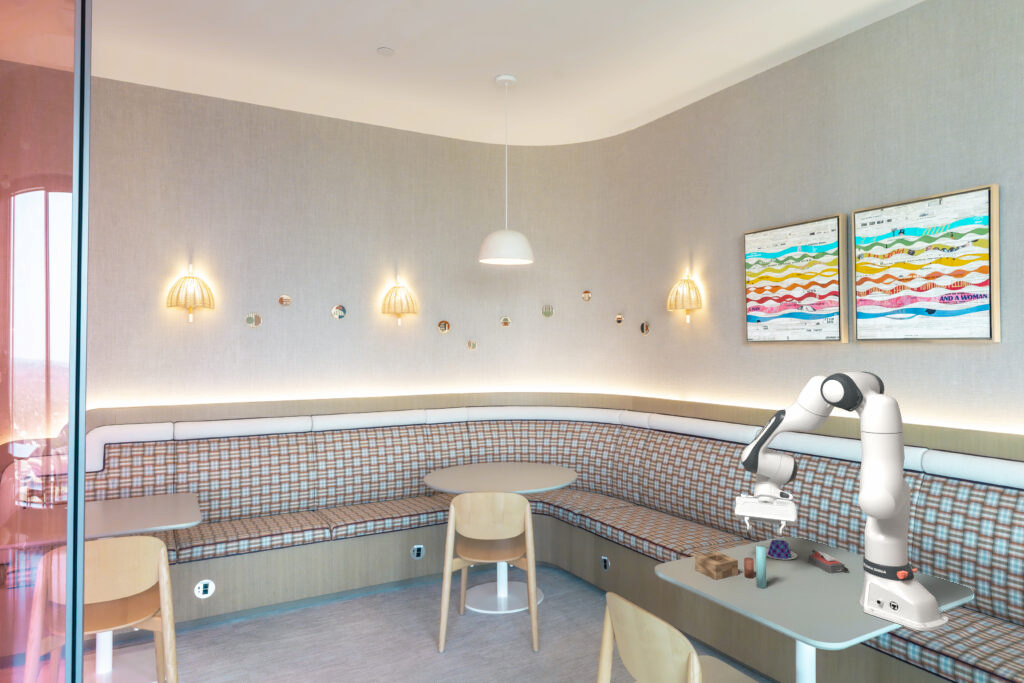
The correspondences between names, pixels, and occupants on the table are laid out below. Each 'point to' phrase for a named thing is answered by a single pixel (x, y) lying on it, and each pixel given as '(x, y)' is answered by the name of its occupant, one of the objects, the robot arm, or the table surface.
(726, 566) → the hole block
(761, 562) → the long pin
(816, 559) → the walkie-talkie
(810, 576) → the table surface
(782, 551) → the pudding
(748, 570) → the short pin
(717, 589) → the table surface
